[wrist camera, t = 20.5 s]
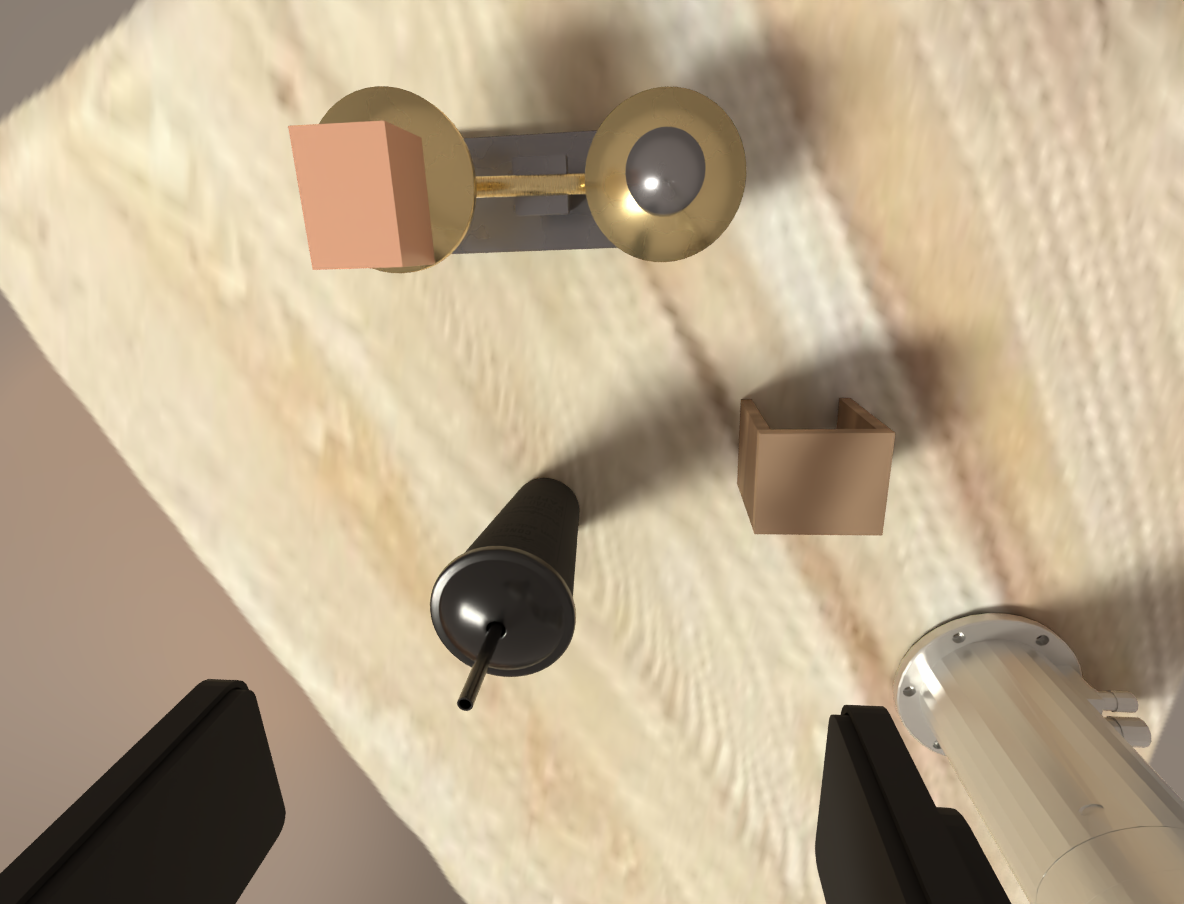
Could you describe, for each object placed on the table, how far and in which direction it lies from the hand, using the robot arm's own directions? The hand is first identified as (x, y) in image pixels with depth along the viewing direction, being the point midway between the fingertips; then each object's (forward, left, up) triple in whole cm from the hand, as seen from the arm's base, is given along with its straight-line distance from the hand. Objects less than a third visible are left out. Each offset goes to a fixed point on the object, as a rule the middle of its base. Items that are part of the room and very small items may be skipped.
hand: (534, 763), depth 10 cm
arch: (-11, +5, -32) cm, 35 cm away
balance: (+4, -11, -32) cm, 34 cm away
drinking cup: (+6, +10, -32) cm, 35 cm away
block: (+11, -13, -20) cm, 26 cm away
